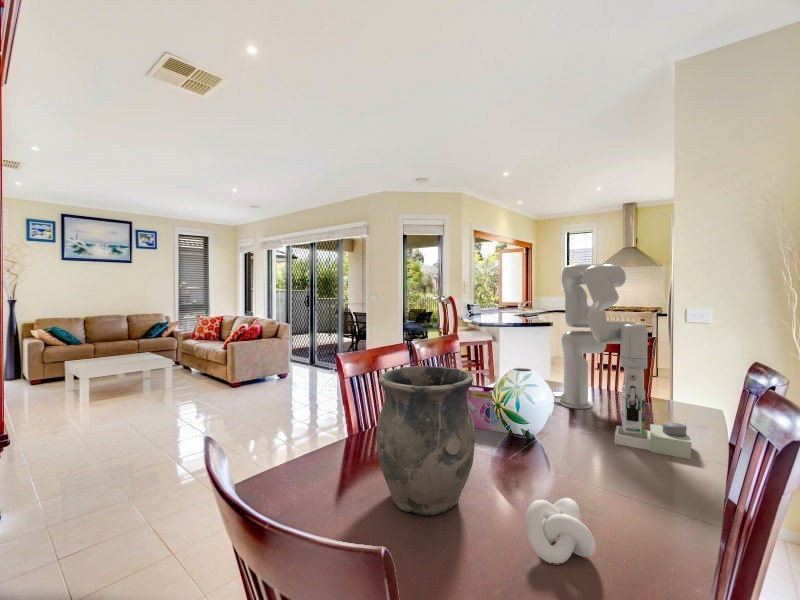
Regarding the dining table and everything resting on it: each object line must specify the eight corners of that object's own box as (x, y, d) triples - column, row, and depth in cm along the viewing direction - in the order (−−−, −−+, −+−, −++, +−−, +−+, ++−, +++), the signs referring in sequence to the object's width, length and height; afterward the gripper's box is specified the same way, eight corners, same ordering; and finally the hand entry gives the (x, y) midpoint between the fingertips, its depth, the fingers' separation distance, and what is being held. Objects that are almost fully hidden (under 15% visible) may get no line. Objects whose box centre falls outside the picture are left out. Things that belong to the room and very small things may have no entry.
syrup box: (624, 432, 125) (624, 387, 124) (621, 426, 130) (621, 383, 130) (645, 435, 122) (645, 389, 122) (641, 429, 128) (641, 385, 127)
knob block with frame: (614, 445, 124) (614, 421, 124) (616, 433, 134) (617, 411, 134) (691, 459, 113) (691, 433, 113) (687, 445, 123) (688, 421, 123)
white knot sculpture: (524, 526, 82) (525, 484, 81) (587, 537, 78) (588, 493, 78) (525, 563, 71) (526, 514, 71) (599, 577, 67) (599, 525, 67)
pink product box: (533, 430, 138) (533, 391, 137) (528, 437, 131) (529, 397, 130) (467, 419, 149) (468, 383, 149) (460, 425, 142) (460, 388, 142)
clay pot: (380, 476, 104) (380, 363, 103) (467, 477, 103) (467, 364, 102) (372, 527, 81) (371, 384, 81) (482, 529, 81) (483, 385, 80)
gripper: (647, 368, 116) (646, 427, 117) (647, 359, 131) (646, 412, 131) (618, 365, 120) (617, 423, 121) (621, 357, 135) (621, 409, 135)
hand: (633, 417), depth 126 cm, fingers closed on syrup box, 6 cm apart
